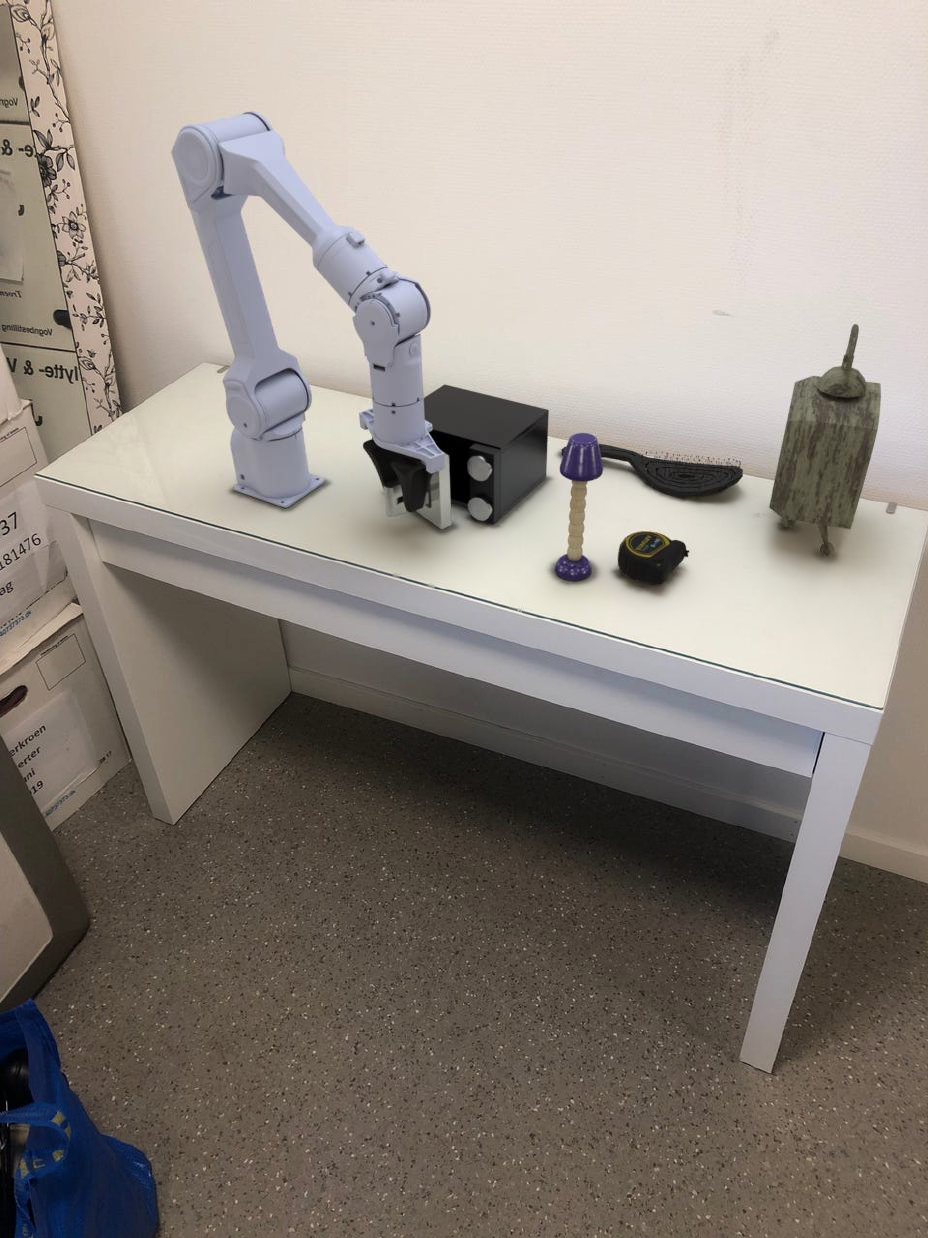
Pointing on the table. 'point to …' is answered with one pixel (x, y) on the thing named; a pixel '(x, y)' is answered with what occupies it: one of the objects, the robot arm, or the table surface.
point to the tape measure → (650, 556)
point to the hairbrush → (677, 473)
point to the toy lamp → (578, 500)
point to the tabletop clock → (827, 447)
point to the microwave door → (435, 500)
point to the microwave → (488, 448)
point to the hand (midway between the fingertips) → (404, 501)
